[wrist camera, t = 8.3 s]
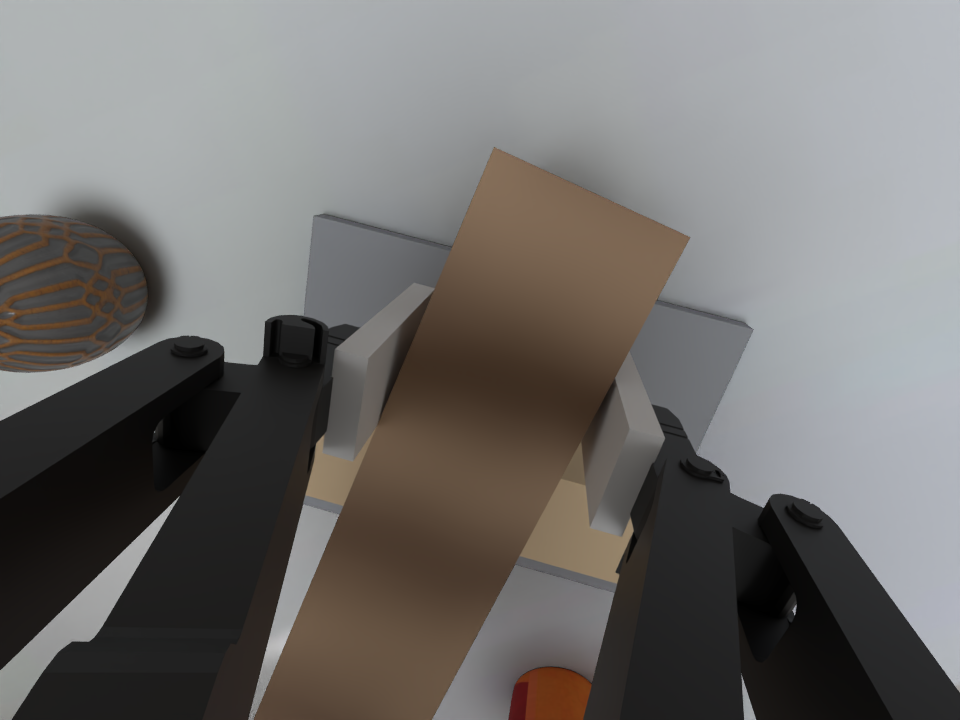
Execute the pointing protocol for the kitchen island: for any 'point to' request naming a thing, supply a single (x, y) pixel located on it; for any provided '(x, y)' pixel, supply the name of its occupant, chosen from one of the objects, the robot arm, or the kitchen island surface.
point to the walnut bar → (471, 442)
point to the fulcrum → (565, 521)
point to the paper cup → (550, 695)
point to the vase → (64, 293)
